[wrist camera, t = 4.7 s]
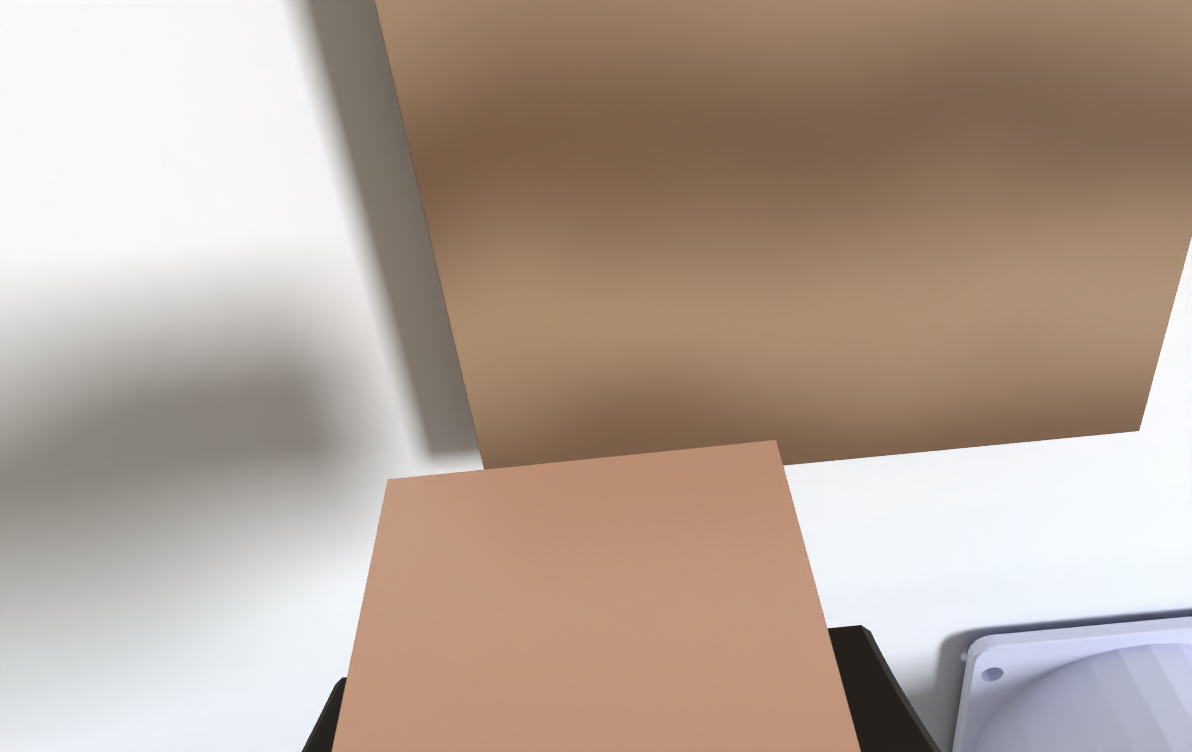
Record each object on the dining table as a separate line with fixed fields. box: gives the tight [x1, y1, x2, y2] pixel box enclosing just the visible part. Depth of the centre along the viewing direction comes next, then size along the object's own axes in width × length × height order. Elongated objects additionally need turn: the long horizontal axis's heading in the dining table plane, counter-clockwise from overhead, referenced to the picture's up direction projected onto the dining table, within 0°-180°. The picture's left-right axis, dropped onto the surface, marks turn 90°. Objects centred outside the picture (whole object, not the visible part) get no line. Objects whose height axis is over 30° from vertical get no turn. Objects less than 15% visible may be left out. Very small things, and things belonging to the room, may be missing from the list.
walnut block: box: [375, 0, 1192, 470], centre depth 16 cm, size 12×12×2 cm
